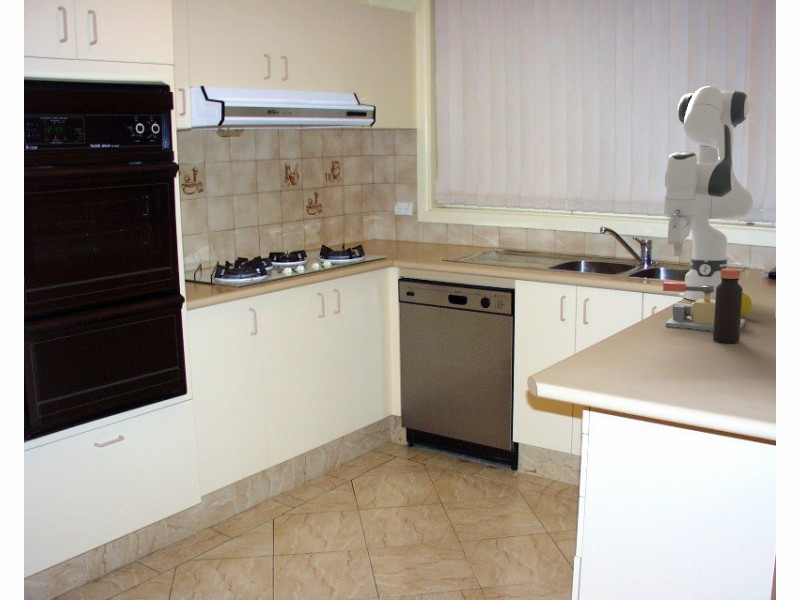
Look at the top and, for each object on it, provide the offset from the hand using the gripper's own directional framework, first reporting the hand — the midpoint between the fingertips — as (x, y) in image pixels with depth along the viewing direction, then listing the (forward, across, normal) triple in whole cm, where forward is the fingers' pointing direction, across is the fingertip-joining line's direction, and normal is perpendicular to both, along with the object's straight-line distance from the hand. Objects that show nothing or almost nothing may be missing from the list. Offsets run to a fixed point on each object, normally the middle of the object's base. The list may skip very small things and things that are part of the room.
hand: (677, 255), depth 247 cm
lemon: (+22, +20, -17) cm, 35 cm away
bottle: (+21, -15, -16) cm, 30 cm away
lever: (+12, +5, -3) cm, 13 cm away
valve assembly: (+22, +5, -8) cm, 24 cm away
